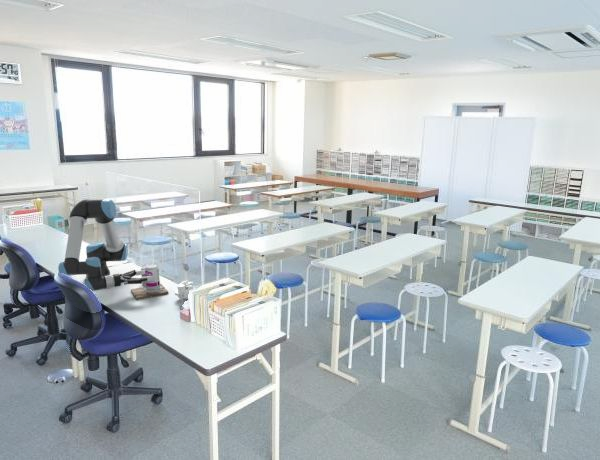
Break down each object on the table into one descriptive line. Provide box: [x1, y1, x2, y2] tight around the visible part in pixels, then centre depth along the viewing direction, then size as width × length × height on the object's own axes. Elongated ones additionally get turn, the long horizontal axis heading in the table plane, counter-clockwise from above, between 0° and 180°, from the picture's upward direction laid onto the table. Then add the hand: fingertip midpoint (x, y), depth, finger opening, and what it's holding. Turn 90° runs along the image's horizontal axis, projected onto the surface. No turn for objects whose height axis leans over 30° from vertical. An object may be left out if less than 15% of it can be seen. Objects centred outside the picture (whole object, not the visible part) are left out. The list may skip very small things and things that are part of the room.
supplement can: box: [145, 264, 161, 291], centre depth 279 cm, size 8×8×15 cm
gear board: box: [130, 283, 169, 301], centre depth 280 cm, size 16×19×2 cm
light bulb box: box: [140, 263, 159, 285], centre depth 298 cm, size 11×7×11 cm, turn 168°
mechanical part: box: [174, 279, 196, 302], centre depth 268 cm, size 11×12×12 cm
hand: (149, 274), depth 277 cm, fingers open, 13 cm apart
